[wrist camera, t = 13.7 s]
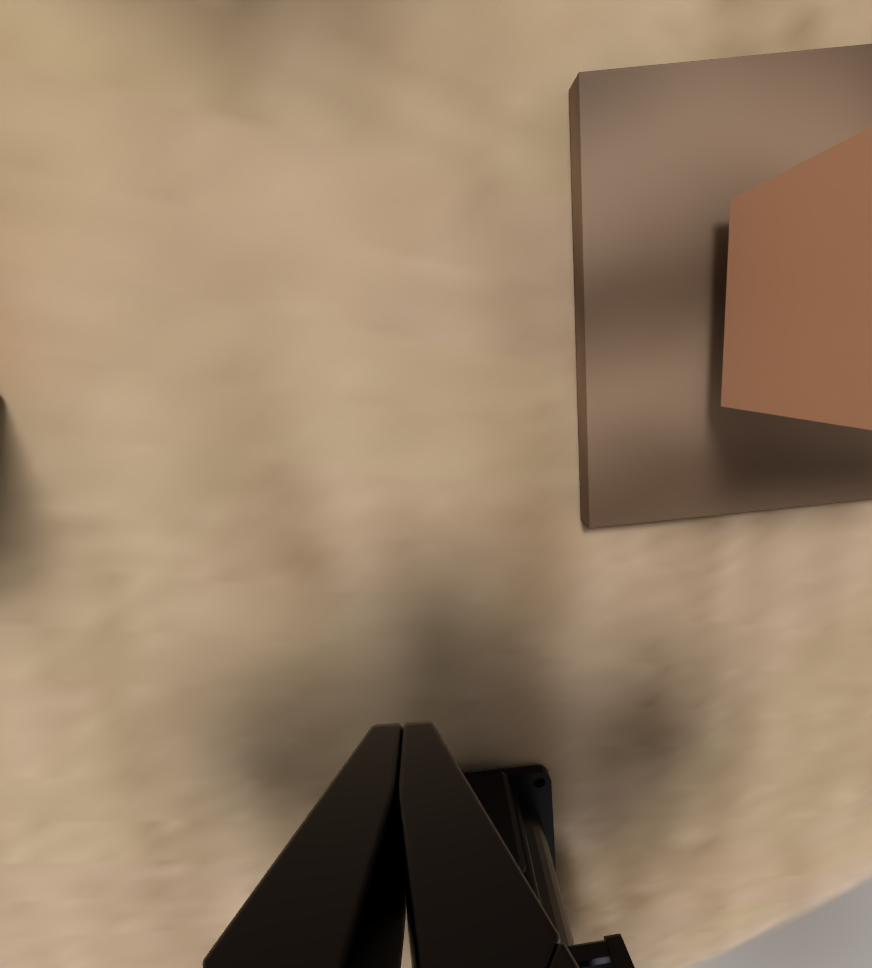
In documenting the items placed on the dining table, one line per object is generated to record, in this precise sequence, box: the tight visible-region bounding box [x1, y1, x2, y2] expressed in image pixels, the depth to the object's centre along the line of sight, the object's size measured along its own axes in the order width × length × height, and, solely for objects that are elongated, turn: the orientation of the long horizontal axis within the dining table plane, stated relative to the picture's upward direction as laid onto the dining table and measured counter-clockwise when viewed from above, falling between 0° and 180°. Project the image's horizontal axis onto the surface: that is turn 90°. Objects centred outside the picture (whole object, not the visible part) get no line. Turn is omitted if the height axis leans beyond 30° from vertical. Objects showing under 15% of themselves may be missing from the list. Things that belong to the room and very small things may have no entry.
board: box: [569, 44, 872, 528], centre depth 17 cm, size 14×14×1 cm
